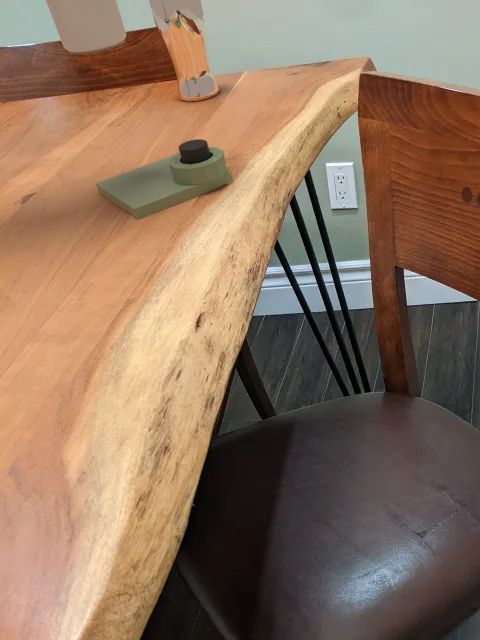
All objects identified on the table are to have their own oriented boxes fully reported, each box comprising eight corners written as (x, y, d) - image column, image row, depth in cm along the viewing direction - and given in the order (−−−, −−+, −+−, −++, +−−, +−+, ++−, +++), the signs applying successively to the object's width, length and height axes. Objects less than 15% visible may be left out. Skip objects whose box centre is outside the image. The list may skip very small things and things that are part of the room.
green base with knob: (140, 221, 74) (129, 193, 72) (99, 193, 81) (88, 167, 79) (239, 182, 79) (233, 154, 77) (193, 159, 86) (185, 133, 83)
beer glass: (208, 102, 101) (176, -24, 90) (168, 103, 103) (131, -21, 92) (230, 87, 105) (201, -36, 95) (191, 87, 108) (158, -33, 97)
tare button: (191, 169, 76) (186, 152, 75) (178, 162, 78) (173, 146, 77) (216, 159, 77) (212, 143, 76) (203, 153, 79) (198, 137, 78)
